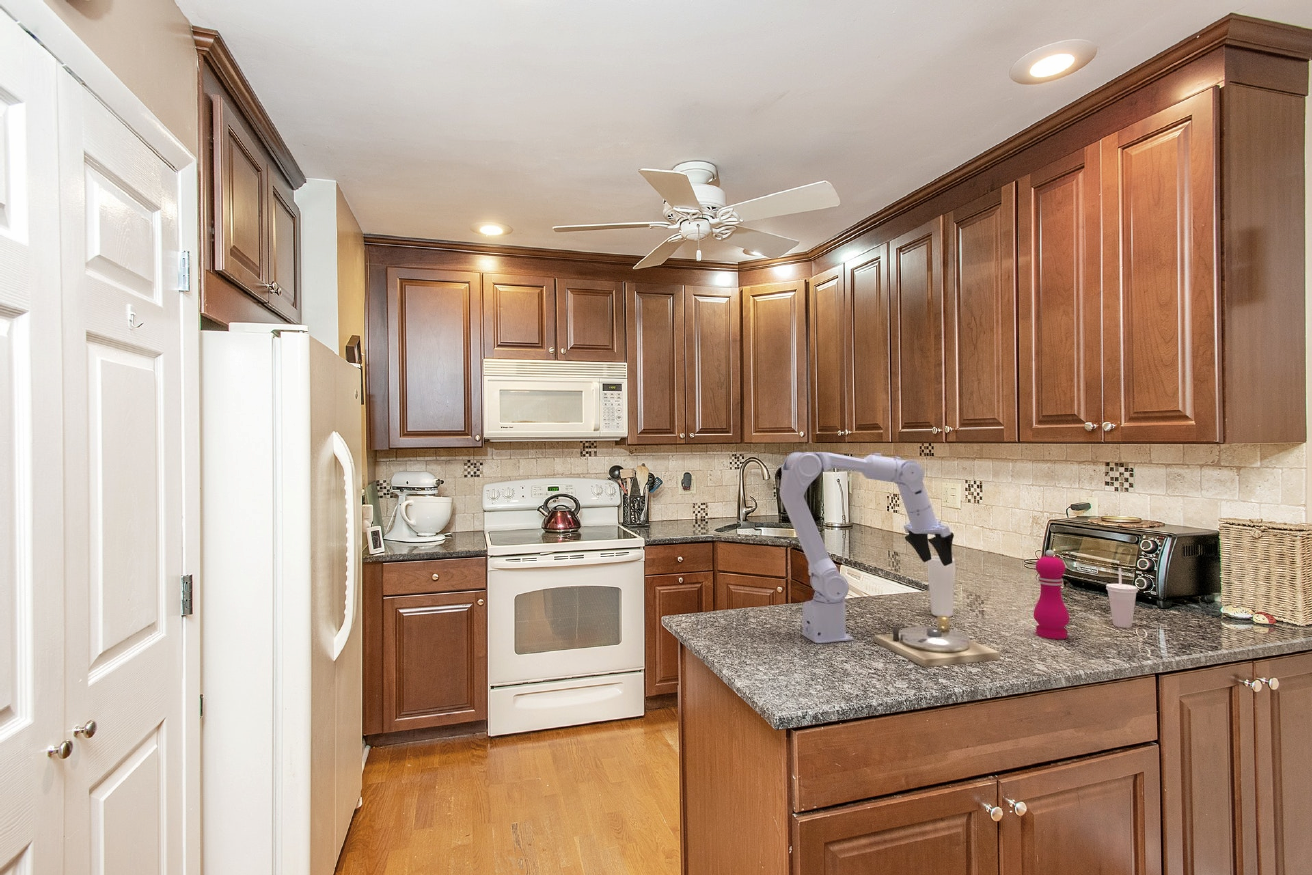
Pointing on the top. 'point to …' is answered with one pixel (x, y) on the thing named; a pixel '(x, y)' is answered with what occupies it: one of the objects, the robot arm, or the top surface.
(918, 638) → the flange disc
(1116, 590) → the smoothie
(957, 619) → the top surface
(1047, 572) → the pepper mill
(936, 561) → the drinking glass
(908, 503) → the robot arm
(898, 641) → the base plate
